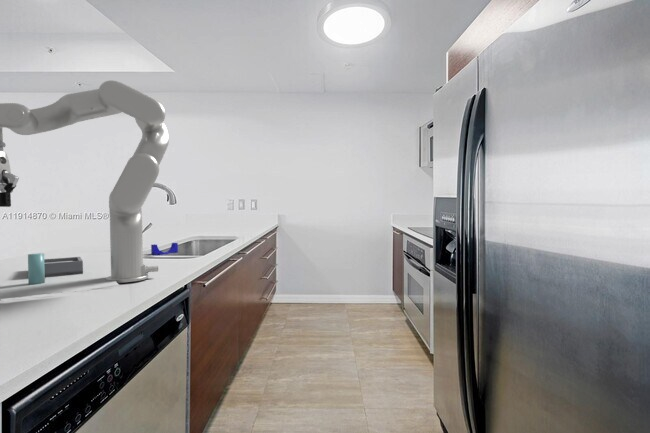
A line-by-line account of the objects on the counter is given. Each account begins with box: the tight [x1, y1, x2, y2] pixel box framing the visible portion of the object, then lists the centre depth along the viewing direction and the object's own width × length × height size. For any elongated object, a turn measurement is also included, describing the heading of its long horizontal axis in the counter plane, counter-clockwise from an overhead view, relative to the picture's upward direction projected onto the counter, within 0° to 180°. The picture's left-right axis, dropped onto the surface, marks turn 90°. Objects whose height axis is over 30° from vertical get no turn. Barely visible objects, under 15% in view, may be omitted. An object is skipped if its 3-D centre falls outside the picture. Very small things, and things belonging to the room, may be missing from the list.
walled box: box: [44, 256, 84, 278], centre depth 134 cm, size 15×16×4 cm
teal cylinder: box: [27, 252, 46, 285], centre depth 115 cm, size 4×4×9 cm
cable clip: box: [150, 242, 179, 256], centre depth 184 cm, size 12×4×6 cm, turn 141°
